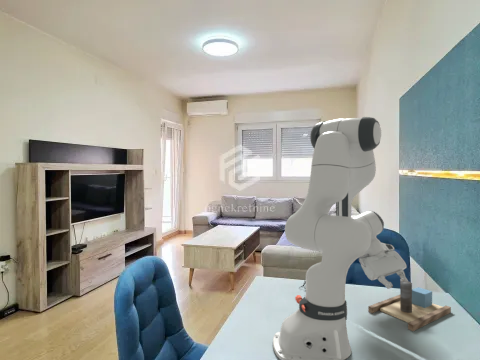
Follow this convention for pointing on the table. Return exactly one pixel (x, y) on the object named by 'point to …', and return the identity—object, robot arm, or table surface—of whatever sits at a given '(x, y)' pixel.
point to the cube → (421, 297)
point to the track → (418, 322)
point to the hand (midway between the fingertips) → (398, 285)
